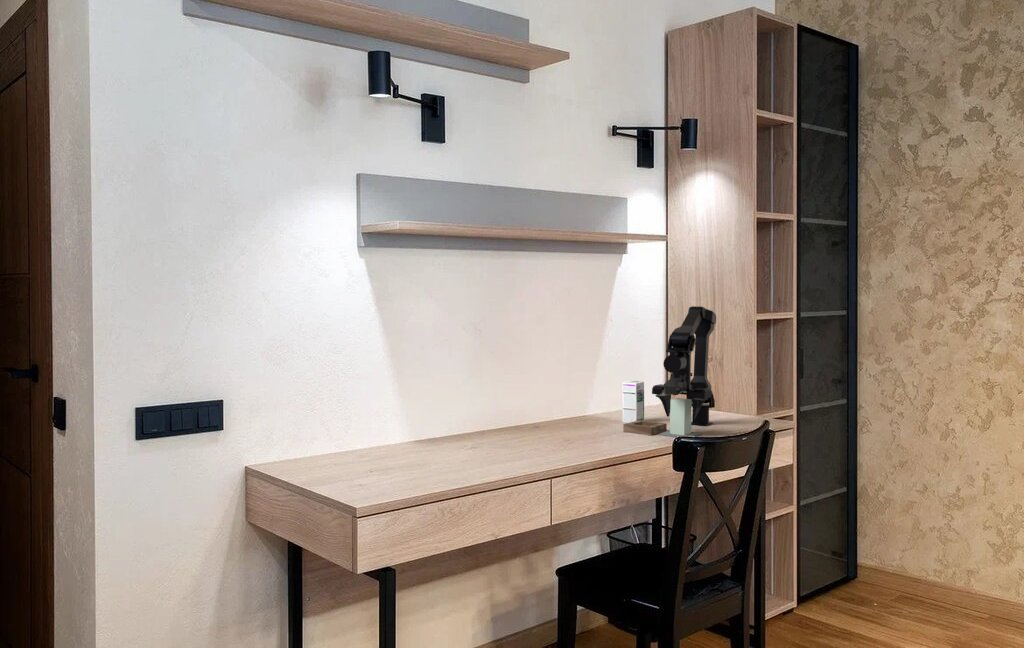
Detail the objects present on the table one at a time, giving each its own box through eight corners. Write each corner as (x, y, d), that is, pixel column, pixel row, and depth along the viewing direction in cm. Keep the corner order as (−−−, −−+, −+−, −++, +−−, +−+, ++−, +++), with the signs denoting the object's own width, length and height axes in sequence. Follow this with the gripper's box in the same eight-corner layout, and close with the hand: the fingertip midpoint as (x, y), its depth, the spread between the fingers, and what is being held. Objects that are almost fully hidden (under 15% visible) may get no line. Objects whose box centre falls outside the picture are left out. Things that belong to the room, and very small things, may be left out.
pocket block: (639, 427, 289) (639, 420, 289) (666, 431, 283) (666, 423, 283) (623, 431, 281) (623, 424, 281) (651, 435, 274) (651, 427, 274)
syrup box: (636, 424, 295) (637, 382, 295) (621, 422, 299) (622, 381, 298) (644, 422, 300) (644, 381, 299) (629, 420, 303) (630, 380, 303)
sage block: (677, 431, 279) (677, 398, 279) (691, 432, 276) (691, 399, 276) (670, 433, 276) (670, 399, 275) (684, 435, 272) (684, 401, 272)
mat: (673, 430, 283) (673, 429, 283) (701, 434, 277) (701, 432, 277) (659, 435, 275) (659, 433, 275) (687, 438, 269) (687, 437, 269)
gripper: (643, 370, 274) (643, 418, 275) (697, 374, 263) (696, 424, 264) (660, 367, 283) (659, 413, 284) (712, 371, 272) (711, 419, 272)
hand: (680, 417), depth 276 cm, fingers open, 9 cm apart
